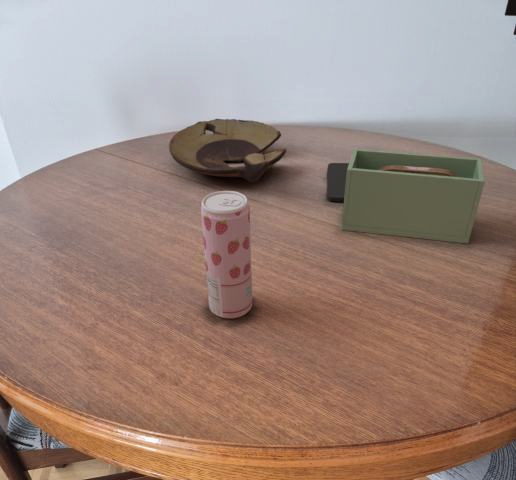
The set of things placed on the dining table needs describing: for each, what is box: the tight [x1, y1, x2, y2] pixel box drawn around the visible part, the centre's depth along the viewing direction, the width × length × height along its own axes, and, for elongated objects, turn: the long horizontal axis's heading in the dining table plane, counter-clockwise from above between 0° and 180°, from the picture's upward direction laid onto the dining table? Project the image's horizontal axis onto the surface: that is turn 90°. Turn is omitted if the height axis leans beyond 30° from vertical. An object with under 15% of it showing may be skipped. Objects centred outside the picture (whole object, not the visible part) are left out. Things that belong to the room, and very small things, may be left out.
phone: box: [326, 162, 349, 203], centre depth 99 cm, size 7×1×15 cm
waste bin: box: [341, 148, 486, 245], centre depth 85 cm, size 19×8×10 cm, turn 76°
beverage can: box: [200, 190, 253, 319], centre depth 67 cm, size 6×6×15 cm
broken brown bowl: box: [168, 118, 287, 183], centre depth 102 cm, size 22×30×8 cm
